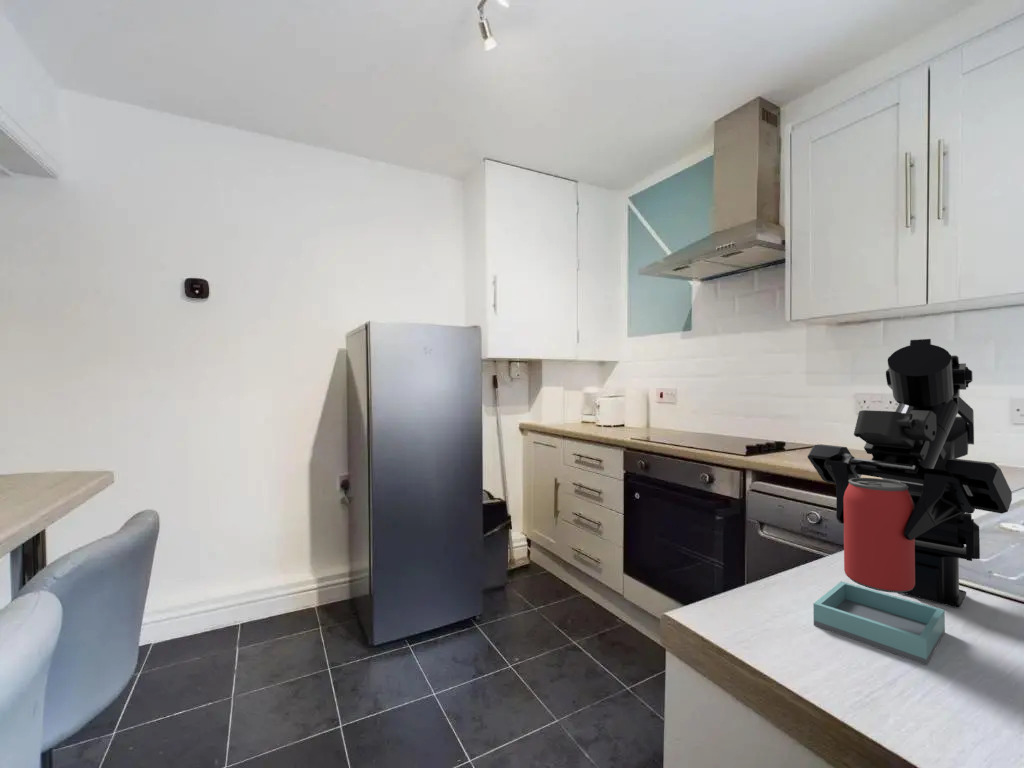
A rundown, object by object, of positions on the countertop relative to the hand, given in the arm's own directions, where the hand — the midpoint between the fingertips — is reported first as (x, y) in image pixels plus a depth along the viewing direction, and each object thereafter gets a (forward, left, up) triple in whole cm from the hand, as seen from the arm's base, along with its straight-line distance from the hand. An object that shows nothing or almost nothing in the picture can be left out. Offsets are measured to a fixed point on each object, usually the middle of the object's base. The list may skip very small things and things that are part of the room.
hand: (871, 529), depth 54 cm
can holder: (-1, 0, -12) cm, 12 cm away
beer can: (-1, 0, -7) cm, 7 cm away
